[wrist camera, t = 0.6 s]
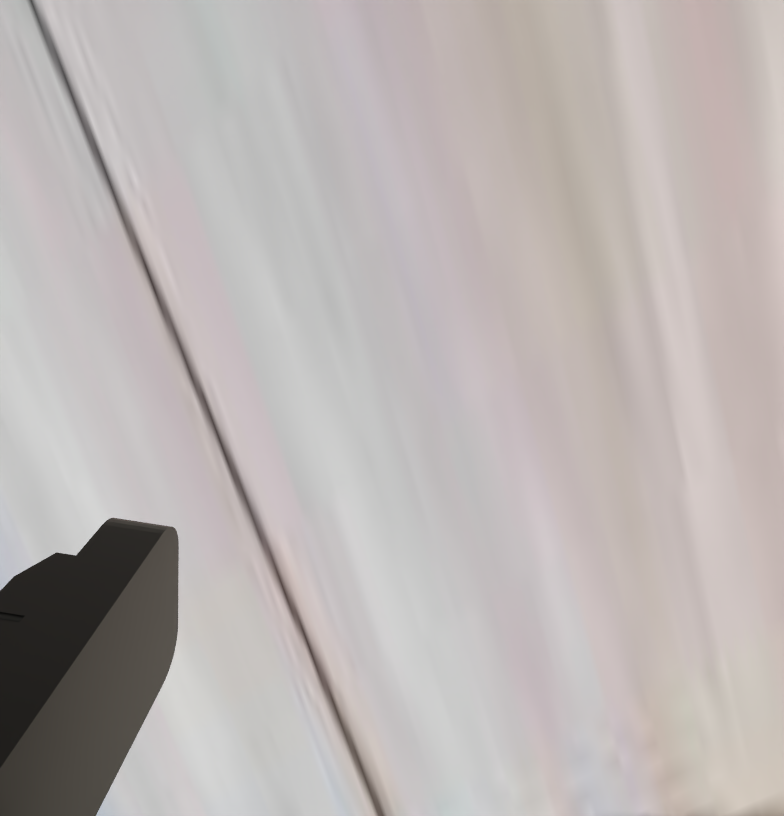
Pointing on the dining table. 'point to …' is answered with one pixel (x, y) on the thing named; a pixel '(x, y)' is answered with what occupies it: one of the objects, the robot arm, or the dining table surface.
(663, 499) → the dining table surface
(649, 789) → the dining table surface
